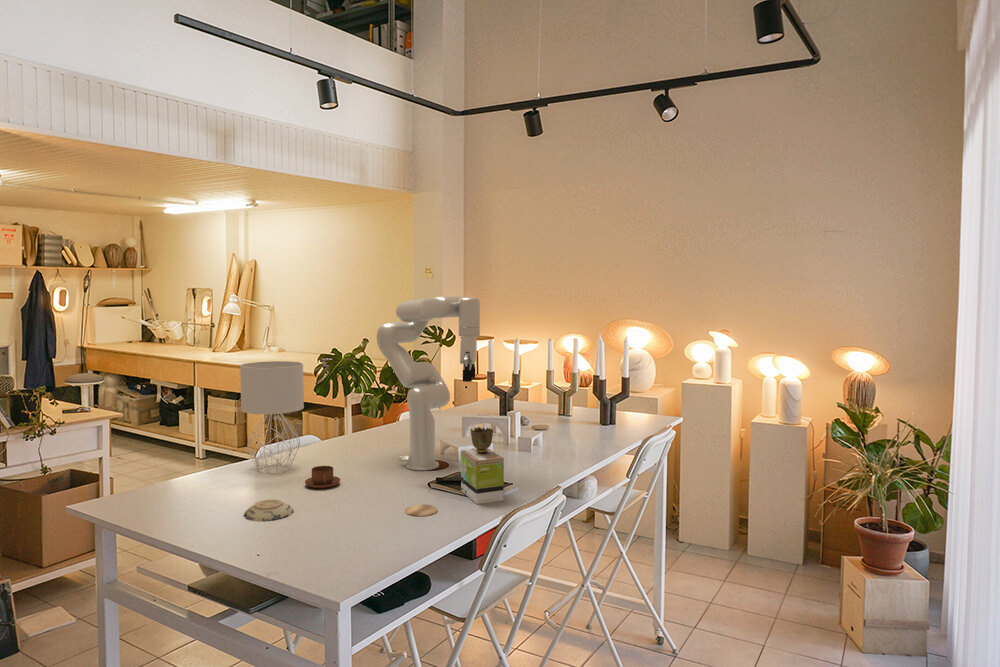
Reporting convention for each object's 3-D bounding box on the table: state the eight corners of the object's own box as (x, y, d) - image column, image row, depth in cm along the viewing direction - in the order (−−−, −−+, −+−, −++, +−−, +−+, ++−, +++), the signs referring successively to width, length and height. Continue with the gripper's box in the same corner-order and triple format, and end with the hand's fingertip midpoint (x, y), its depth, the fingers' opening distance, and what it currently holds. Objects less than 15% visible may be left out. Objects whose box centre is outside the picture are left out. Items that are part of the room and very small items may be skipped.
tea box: (460, 492, 239) (460, 449, 238) (487, 488, 243) (487, 446, 242) (475, 505, 225) (476, 459, 224) (504, 501, 229) (505, 456, 228)
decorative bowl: (304, 514, 217) (276, 503, 226) (304, 502, 216) (276, 492, 226) (260, 527, 205) (233, 515, 215) (260, 515, 205) (233, 504, 214)
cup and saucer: (346, 486, 245) (346, 469, 245) (314, 492, 237) (314, 475, 237) (330, 479, 254) (330, 462, 254) (299, 485, 246) (298, 467, 246)
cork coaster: (401, 515, 214) (401, 514, 214) (408, 505, 224) (408, 503, 224) (434, 516, 213) (434, 515, 213) (440, 506, 223) (440, 505, 223)
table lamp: (237, 479, 253) (235, 368, 250) (247, 463, 275) (245, 361, 272) (302, 476, 257) (300, 367, 254) (306, 460, 279) (305, 360, 276)
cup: (480, 449, 238) (481, 425, 237) (497, 452, 233) (497, 428, 233) (465, 453, 232) (466, 429, 232) (482, 456, 228) (482, 432, 227)
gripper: (462, 330, 260) (462, 376, 261) (455, 333, 242) (455, 382, 244) (482, 330, 259) (482, 376, 260) (476, 333, 242) (476, 383, 243)
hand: (469, 379), depth 252 cm, fingers open, 9 cm apart
